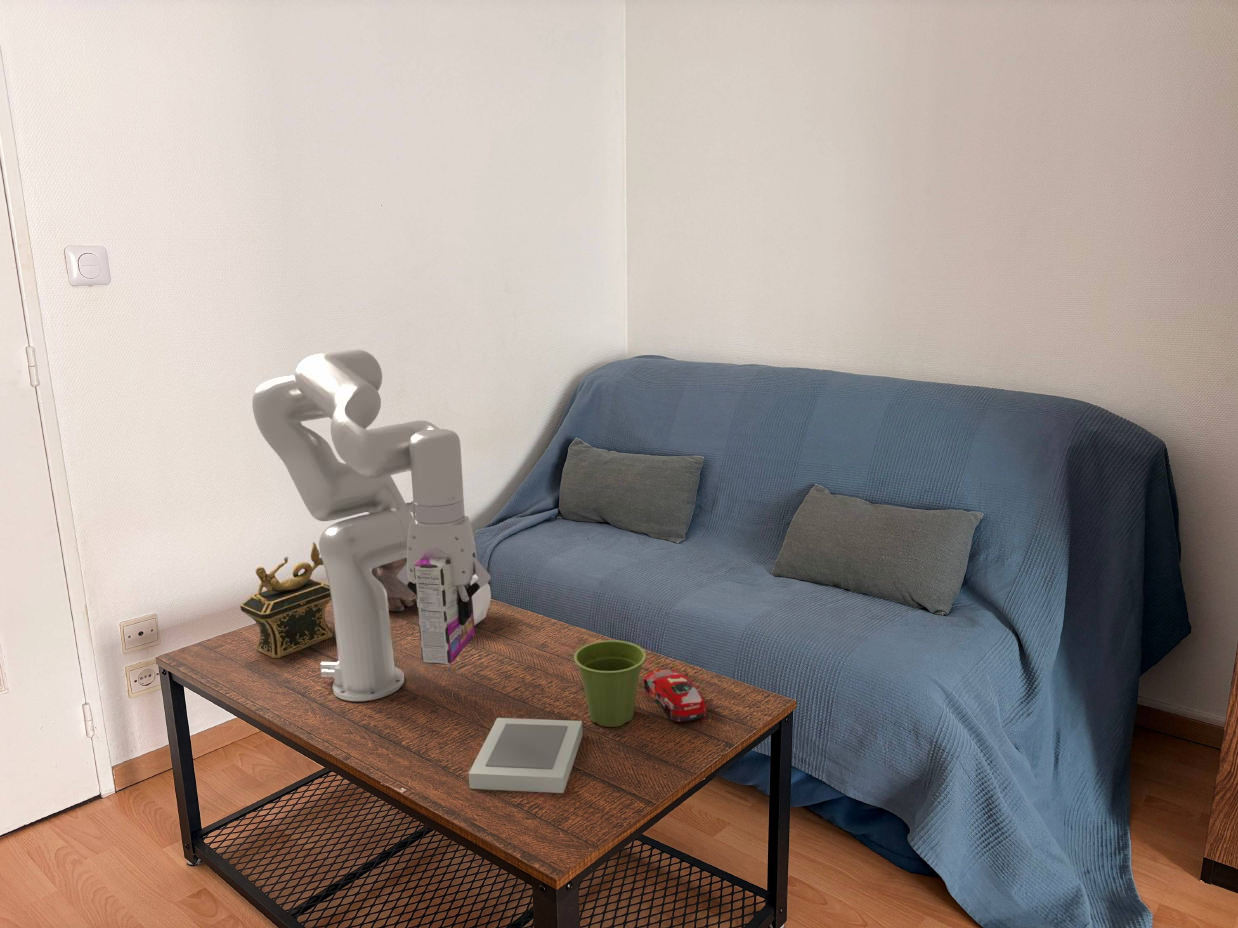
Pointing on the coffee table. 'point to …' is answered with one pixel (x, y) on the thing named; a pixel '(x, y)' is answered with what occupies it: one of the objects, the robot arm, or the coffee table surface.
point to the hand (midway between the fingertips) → (446, 619)
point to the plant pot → (610, 679)
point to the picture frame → (527, 755)
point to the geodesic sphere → (480, 601)
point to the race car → (675, 695)
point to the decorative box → (290, 609)
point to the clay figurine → (394, 585)
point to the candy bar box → (439, 612)
